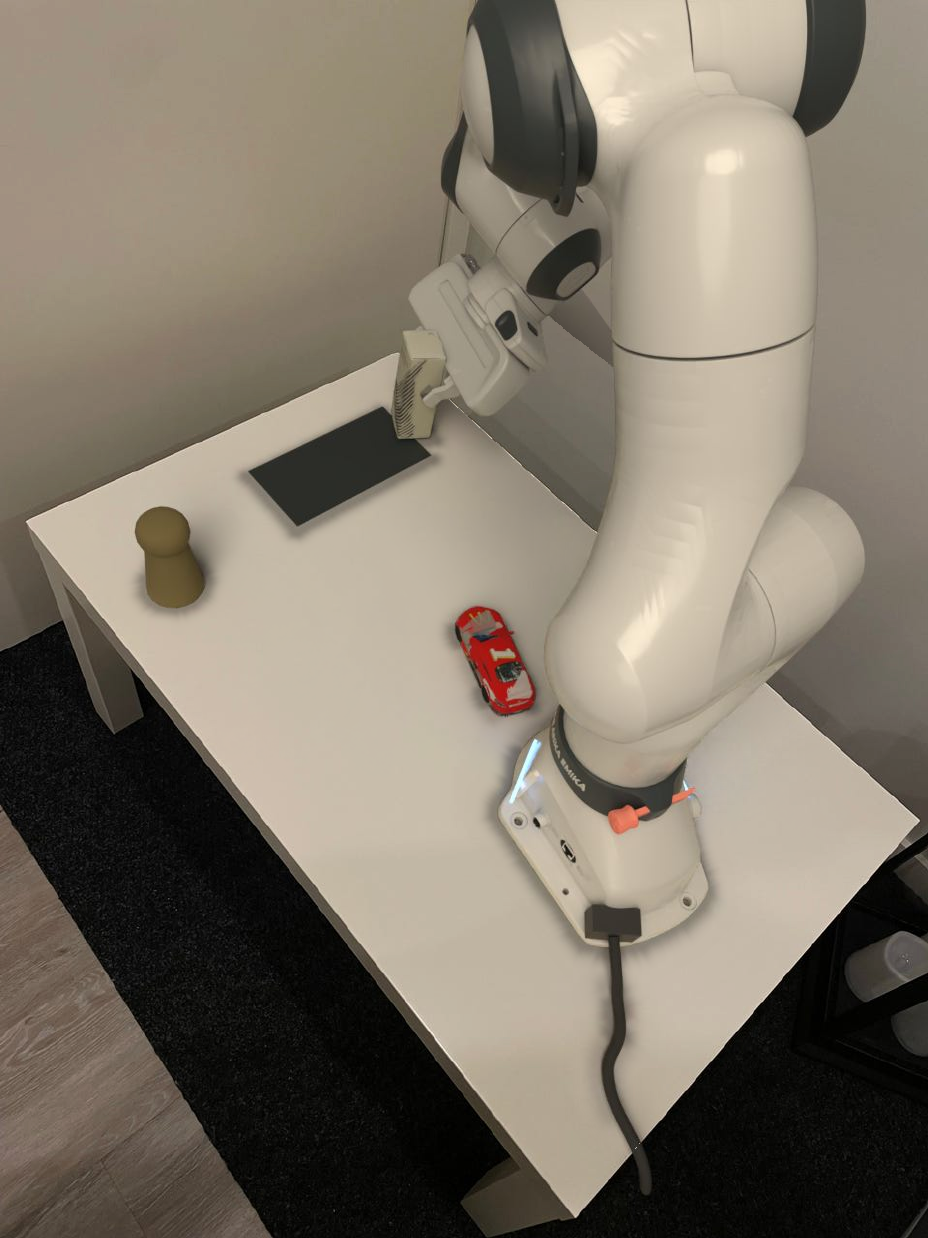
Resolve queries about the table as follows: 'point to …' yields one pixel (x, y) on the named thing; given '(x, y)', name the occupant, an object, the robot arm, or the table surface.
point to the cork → (168, 558)
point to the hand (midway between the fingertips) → (414, 382)
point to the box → (416, 382)
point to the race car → (495, 661)
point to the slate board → (337, 466)
